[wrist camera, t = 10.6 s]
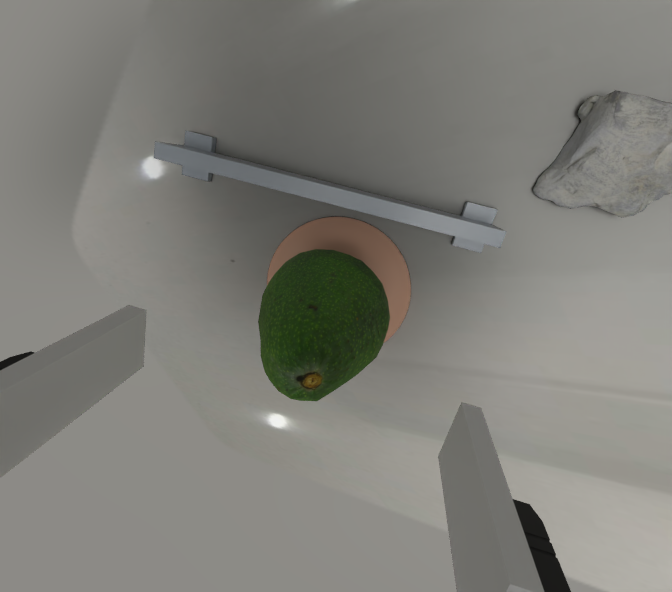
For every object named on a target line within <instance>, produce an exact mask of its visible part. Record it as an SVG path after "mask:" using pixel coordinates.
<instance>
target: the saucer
mask: <svg viewBox="0 0 672 592" xmlns="http://www.w3.org/2000/svg"><path fill="white" fill-rule="evenodd" d="M314 249H325V250H335V251H338V252H342V253H345V254H349V255H351V256H353V257H355V258H357V259H359V260H361V261H363V262H364V263H365V264H366V265H367V266H368V267H369V268H370V269H371V270H372V271H373V272H374V273H375V275H376V276H377V277H378V279H379V280H380V281H381V283H382V284H383V287H384V290H385V293H386V296H387V299H388V305H389V313H390V321H389V327H388V331H387V334H386V337H385V340H384V342H386V341H387V340H388V339H389V338H390V337H391V336H392V335H393V334H394V333H395V332H396V331H397V329H398V328H399V327H400V325H401V324H402V322H403V320H404V318H405V316H406V313H407V311H408V307H409V303H410V297H411V282H410V276H409V271H408V268H407V265H406V262H405V260H404V258H403V256H402V254H401V252H400V251H399V249H398V248H397V246H396V245H395V244H394V243H393V242H392V240H391V239H390V238H389V237H388V236H386V235H385V234H384V233H383V232H382V231H380V230H379V229H377V228H376V227H374V226H372V225H370V224H368V223H366V222H363V221H360V220H357V219H354V218H348V217H337V216H335V217H325V218H320V219H316V220H313V221H311V222H308V223H306V224H304V225H302V226H300V227H299V228H297V229H296V230H294V231H293V232H292V233H290V234H289V235H288V236H287V237H286V238H285V239H284V240H283V241H282V243H281V244H280V245H279V247H278V248H277V250H276V252H275V253H274V255H273V258H272V260H271V263H270V266H269V270H268V277H267V285H268V283H269V281H270V280H271V278H272V277H273V276H274V274H275V273H276V272H277V271H278V270H279V269H280V267H281V266H282V265H283V264H284V263H285V262H286V261H288V260H289V259H291V258H292V257H294V256H296V255H297V254H299V253H302V252H306V251H310V250H314Z"/></svg>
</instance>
